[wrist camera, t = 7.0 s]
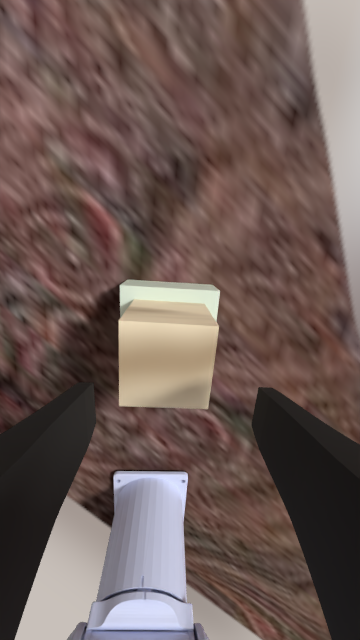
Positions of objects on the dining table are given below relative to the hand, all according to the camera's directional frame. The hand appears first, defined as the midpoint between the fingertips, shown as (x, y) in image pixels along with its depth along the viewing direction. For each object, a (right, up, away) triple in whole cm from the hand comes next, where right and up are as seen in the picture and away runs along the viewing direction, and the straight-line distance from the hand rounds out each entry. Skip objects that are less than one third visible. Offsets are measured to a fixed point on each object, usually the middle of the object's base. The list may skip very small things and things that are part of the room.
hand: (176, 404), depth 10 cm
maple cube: (-1, +3, +7) cm, 7 cm away
